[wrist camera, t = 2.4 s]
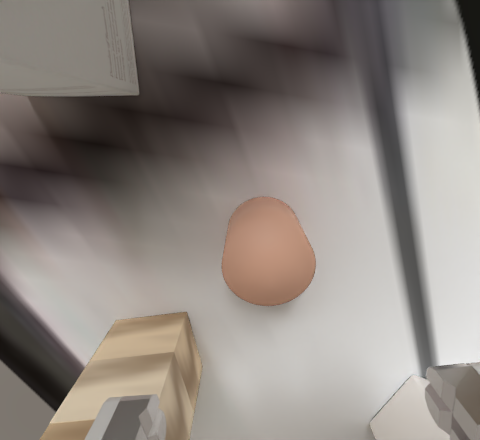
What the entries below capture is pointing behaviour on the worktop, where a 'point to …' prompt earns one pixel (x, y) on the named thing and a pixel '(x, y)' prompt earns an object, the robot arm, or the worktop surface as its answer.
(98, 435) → the robot arm
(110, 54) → the supplement box
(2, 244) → the worktop surface
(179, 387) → the tower mid
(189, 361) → the tower base
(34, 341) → the worktop surface
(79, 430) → the tower top
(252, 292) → the pink rounded cylinder
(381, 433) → the medicine bottle
